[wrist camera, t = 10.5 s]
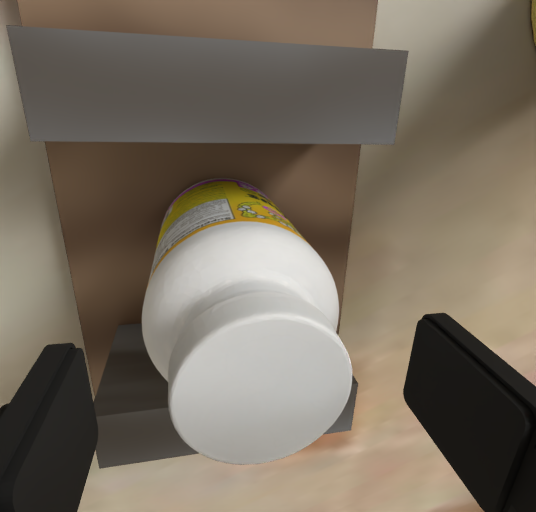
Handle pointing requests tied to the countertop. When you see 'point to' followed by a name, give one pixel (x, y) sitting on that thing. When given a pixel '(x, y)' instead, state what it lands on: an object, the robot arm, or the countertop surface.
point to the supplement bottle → (243, 326)
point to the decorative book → (533, 18)
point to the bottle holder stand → (192, 152)
